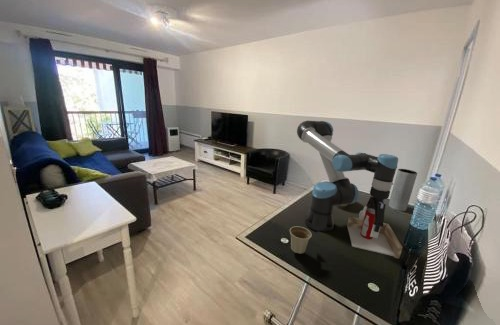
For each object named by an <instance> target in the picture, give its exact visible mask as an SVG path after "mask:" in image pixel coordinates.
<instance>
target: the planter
mask: <svg viewBox="0 0 500 325" xmlns="http://www.w3.org/2000/svg"><path fill="white" fill-rule="evenodd" d="M395 175H396V176H395V178H394V181H393V185H392V186H393V187H392V189H391V192H390V193H391V194H390V196H389V197H390V198H389V200H388V206H389V207H390V208H391V209H393V210H396V211H400V212H405V211H407V210H408V205H409V202H410V199H411V196H412V194H413V189H414V186H415V183H416V179H417V176H418V172H417V171H414V170H411V169H406V168H398V169H397V171H396V174H395Z"/></svg>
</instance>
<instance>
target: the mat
mask: <svg viewBox="0 0 500 325" xmlns="http://www.w3.org/2000/svg"><path fill="white" fill-rule="evenodd" d="M346 227H347V232H348V235H349V239H350V243H351V247H352V248H356V249H362V250H365V251H369V252H374V253H378V254H382V255H386V256H391V257H394V256H395V255H394V253H393V251H392V249H391V247H390V246H389V244H388V242H387V240H386V238H385V236H384V234H382V233H379V234H378V238H375V237H373V238H372V239H370V240H368V239H365V238H363V237H362V236H361V235H360V232H361V229H358V228H353V227H348V226H347V225H346Z"/></svg>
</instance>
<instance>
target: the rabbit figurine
mask: <svg viewBox="0 0 500 325" xmlns="http://www.w3.org/2000/svg"><path fill="white" fill-rule="evenodd" d="M366 210H367V206H366V205H365V206H364V207H363V209H362V210H360V211H359V213H358V215H359V217H358V218H361V219H364V216H365V212H366Z"/></svg>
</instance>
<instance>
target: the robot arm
mask: <svg viewBox="0 0 500 325" xmlns="http://www.w3.org/2000/svg"><path fill="white" fill-rule="evenodd" d="M333 132H334V127H333V126H332V124H331V123H330V122H328V121H325V120H305V121H302V122H301V123H299V125H298V126H297V129H296V134H297V137H298V139H299V140H301V141H302V142H303V143H305V144H306V143H307V144H308V145H310V146H311V147H312V148H314V149H315V150H316V151H318V152H319V155H320V158H321V161H322V162H321V163H322V164H323V167H324V169H325V172H326V175H327V178H328V181H326V182H325V181H320V182H317V183H315V184H314V186H313V188H312V192H311V201H310V206H309V210H308V212H307V213H306V215H305V217H304V224H305V225H306V226H307V227H309V228H310V229H312V230H313V231H320V232H329V231H331V230H333V229H334V218H333V212H334V207H339V206H340V207H343V206H342V205H347V206H349V205H352V204H354V203H356V202H357V201H358V198H359V195H360V194H359V193H360V192H359V188H358V187H357V185H356V184H354V183H352V182H350V179H349V178H348V177H347V176H345V174H344V172H345V173H346V172H353V171H366V172H367V171H368V172H371V173H373V174H374V175H373V177H372V178H373V179H372V182H371V187H370V190H369V195H370V197H369V198H368V201H367V203H366V205H365V206H367V208H366V210H367V209H368V208H372V209H374V210H375V223H373V228H372V231H371V235H370V236H371V237H375V238H378V234H379V231H380V227H383V223H385V222H384V221H385V210H386V204H385V203H384V200H388V199H390V198H389V197H390V195H391V194H390V193H391V191H392V186H394V179H395V175H396V173H397V171H396V170H398V169H397V168H398V163H399V158H398V156H396V155H393V154H387V153H380V154H379V155H378V156H375V155H372V154H369V153H366V152H361V151H360V152H357V153H355V154H349V153H347V151H344V150H343V149H342V148H340V147H339V146H338V145H336V144H335V143H332V140H333V135H334V133H333Z"/></svg>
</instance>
